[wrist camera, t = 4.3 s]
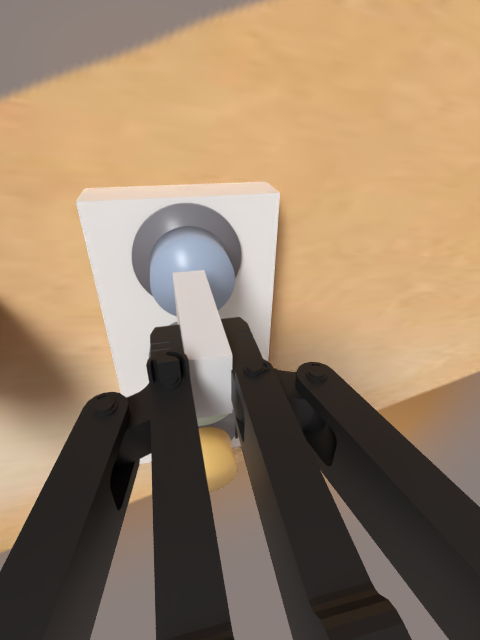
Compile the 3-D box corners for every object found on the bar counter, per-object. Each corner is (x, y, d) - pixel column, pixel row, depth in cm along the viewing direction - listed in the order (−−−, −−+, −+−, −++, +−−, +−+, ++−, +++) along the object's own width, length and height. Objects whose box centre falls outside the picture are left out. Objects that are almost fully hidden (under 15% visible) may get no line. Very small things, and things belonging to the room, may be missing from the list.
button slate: (154, 300, 21) (155, 322, 19) (144, 228, 19) (144, 245, 17) (226, 293, 22) (234, 314, 20) (226, 223, 20) (235, 239, 18)
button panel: (138, 436, 33) (137, 468, 30) (84, 188, 21) (74, 204, 18) (254, 417, 35) (263, 446, 32) (265, 181, 23) (282, 194, 20)
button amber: (177, 468, 29) (179, 498, 27) (172, 432, 26) (174, 461, 24) (230, 458, 30) (237, 486, 27) (230, 422, 27) (237, 450, 25)
